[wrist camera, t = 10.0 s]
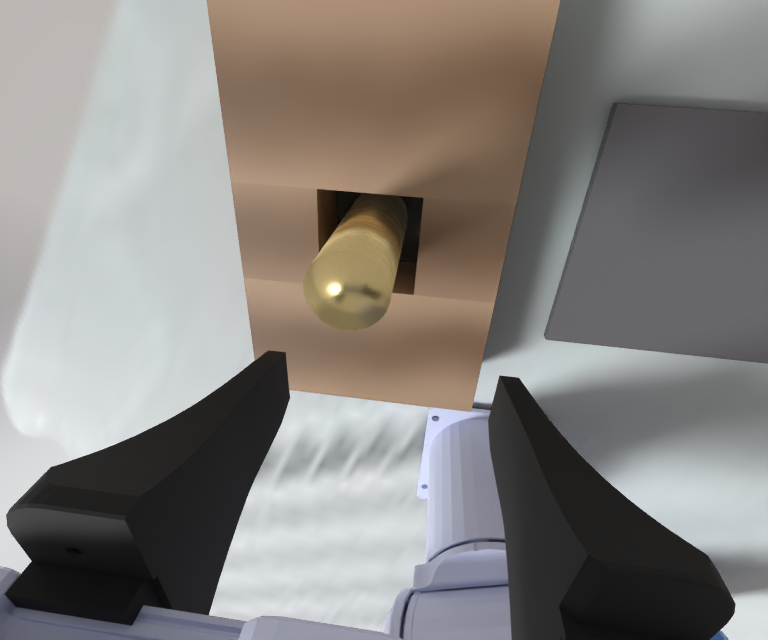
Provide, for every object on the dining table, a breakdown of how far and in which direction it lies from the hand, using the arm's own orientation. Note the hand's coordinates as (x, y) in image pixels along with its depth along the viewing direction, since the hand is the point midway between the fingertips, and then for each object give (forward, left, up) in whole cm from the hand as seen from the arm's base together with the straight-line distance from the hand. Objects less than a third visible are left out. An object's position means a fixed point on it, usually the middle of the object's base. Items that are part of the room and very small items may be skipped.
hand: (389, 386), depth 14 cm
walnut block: (+3, +2, -10) cm, 11 cm away
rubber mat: (+3, -14, -10) cm, 18 cm away
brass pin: (+3, +2, -10) cm, 11 cm away
